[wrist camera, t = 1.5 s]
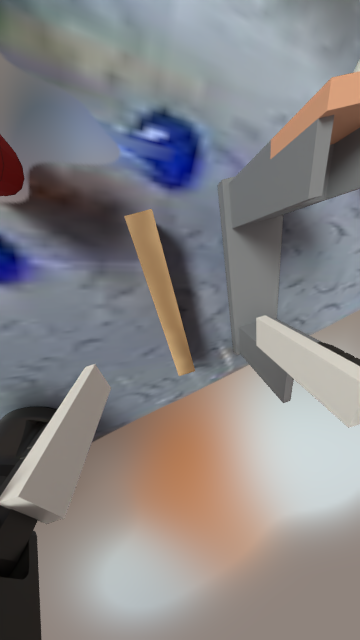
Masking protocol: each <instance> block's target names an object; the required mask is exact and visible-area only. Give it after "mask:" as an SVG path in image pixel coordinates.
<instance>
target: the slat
mask: <svg viewBox="0 0 360 640" xmlns="http://www.w3.org/2000/svg"><path fill="white" fill-rule="evenodd" d="M124 217H125V219H126V222H127V225H128V228H129V231H130V234H131V237H132V240H133V243H134V246H135V249H136V252H137V255H138V257H139V260H140V263H141V266H142V269H143V272H144V275H145V278H146V281H147V284H148V287H149V290H150V293H151V295H152V298H153V301H154V304H155V307H156V310H157V313H158V316H159V319H160V322H161V325H162V328H163V331H164V333H165V336H166V339H167V342H168V345H169V348H170V351H171V354H172V357H173V360H174V363H175V366H176V369H177V371H178V374H179V376H181V375H184V374H187V373H190V372H194V371H195V369H194V365H193V361H192V357H191V354H190V350H189V346H188V343H187V339H186V335H185V331H184V328H183V324H182V320H181V316H180V313H179V309H178V305H177V301H176V298H175V294H174V290H173V286H172V283H171V279H170V275H169V272H168V268H167V264H166V260H165V257H164V253H163V249H162V245H161V242H160V238H159V234H158V230H157V227H156V223H155V219H154V215H153V212H152V209H150V210H146V211H142V212H138V213H135V214H131V215H127V216H124Z"/></svg>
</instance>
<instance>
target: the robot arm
mask: <svg viewBox="0 0 360 640" xmlns="http://www.w3.org/2000/svg"><path fill="white" fill-rule="evenodd" d="M256 345H257V346H258V347H259V348H260V349H261V350H262V351H263V352H264V353H265V354H267V355H268V356H269V357H270V358H271V359H272V360H273V361H274V362H276V363H277V364H278V365H279V366H280V367H281V368H282V369H283V370H284V371H286V372H287V373H288V374H289V375H290V376H291V377H292V378H293V379H295V380H296V381H297V382H298V383H299V384H300V385H301V386H302V387H304V388H305V389H306V390H307V391H308V392H309V393H310V394H311V395H312V396H314V397H315V398H316V399H317V400H318V401H319V402H320V403H321V404H323V405H324V406H325V407H326V408H327V409H328V410H329V411H330V412H332V413H333V414H334V415H335V416H336V417H337V418H338V419H339V420H340V421H342V422H343V423H344V424H345V425H346V426H347V427H348V428H349V427H352V426H355V425H358V424H360V359H358V358H355V357H354V356H352V355H350V354H348V353H345V352H344V351H342V350H340V349H338V348H336V347H334V346H332V345H329V344H326V343H322V342H317V343H316V342H314V341H312V340H310V339H308V338H307V337H305V336H303V335H301V334H299V333H297V332H295V331H294V330H292V329H290V328H288V327H286V326H284V325H282V324H281V323H279V322H277V321H275V320H273V319H271V318H269V317H268V316H266V315H264V316H261V317H258V318H256ZM110 390H111V387H110V386H109V384H108V383H107V381H106V380H105V378H104V377H103V375H102V374H101V372H100V371H99V369H98V368H97V366H96V365H95V364H94V365H91V366H87V367H85V368H84V370H83V371H82V373H81V375H80V376H79V378H78V379H77V381H76V382H75V384H74V385H73V387H72V388H71V390H70V391H69V393H68V394H67V396H66V397H65V399H64V400H63V402H62V403H61V405H60V406H59V408H58V409H57V410H55V409H51V408H45V407H27V408H21V409H17V410H14V411H12V412H10V413H8V414H7V415H5V416H4V417H3V418H2V419H1V420H0V640H41V621H40V598H39V574H38V551H37V535H36V532H35V531H33V529H34V527H35V525H36V523H37V520H38V521H41V522H43V523H45V524H49V523H52V522H55V521H58V520H61V519H64V518H65V516H66V513H67V510H68V507H69V504H70V501H71V499H72V496H73V493H74V491H75V488H76V485H77V482H78V479H79V477H80V474H81V471H82V468H83V465H84V463H85V460H86V457H87V454H88V451H89V449H90V446H91V443H92V440H93V437H94V435H95V432H96V429H97V426H98V423H99V421H100V418H101V415H102V412H103V409H104V406H105V404H106V401H107V398H108V395H109V392H110Z"/></svg>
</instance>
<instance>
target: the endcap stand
mask: <svg viewBox="0 0 360 640" xmlns="http://www.w3.org/2000/svg"><path fill="white" fill-rule="evenodd" d="M357 189H360V71H359V72H354V73H350V74H346V75H341V76H337V77H332V78H331V79H330V80H329V81H328V82H327V83H326V84H325V85H324V86H323V87H322V88H321V89H320V90H319V91H318V92H317V93H316V94H315V95H314V96H313V97H312V98H311V99H310V100H309V101H308V102H307V103H306V105H305V106H304V107H303V108H302V109H301V110H300V111H299V112H298V113H297V114H296V115H295V116H294V117H293V118H292V119H291V120H290V121H289V122H288V123H287V124H286V125H285V126H284V127H283V128H282V129H281V130H280V131H279V132H278V133H277V134H276V135H275V136H274V137H273V138H272V139H271V140H270V142H269V143H268V144H267V145H266V146H265V147H264V148H263V149H262V150H261V151H260V152H259V153H258V154H257V155H256V156H255V157H254V158H253V159H252V160H251V161H250V162H249V163H248V164H247V165H246V166H245V167H244V168H243V169H242V170H241V171H240V172H239V173H238V174H237V175H236V176H235V177H232V178H228V179H224V180H222V181H221V182H220V183H219V184H218V195H219V206H220V216H221V227H222V237H223V248H224V259H225V269H226V280H227V290H228V301H229V311H230V322H231V332H232V343H233V352H234V353H235V354H236V355H240V354H241V355H242V356H243V358H244V359H245V360H246V361H247V362H248V363H249V364H250V366H251V367H252V368H253V369H254V370H255V371H256V372H257V374H258V375H259V376H260V377H261V378H262V379H263V380H264V382H265V383H266V384H267V385H268V386H269V387H270V388H271V390H272V391H273V392H274V393H275V394H276V395H277V396H278V398H279V399H280V400H281V401H282V402H283V403H285V402H288V401H290V399H291V392H292V386H293V380H294V379H293V378H292V377H291V376H290V375H289V374H288V373H287V372H286V371H284V370H283V369H282V368H281V367H280V366H279V365H278V364H277V363H276V362H274V361H273V360H272V359H271V358H270V357H269V356H268V355H267V354H265V353H264V352H263V351H262V350H261V349H260V348H259V347H258V346H257V345H256V318H258V317H261V316H264V315H266V316H268V317H269V318H271V319H273V320H275V321H277V322H279V323H281V324H282V325H284V326H286V327H288V328H290V329H292V330H294V331H295V332H297V333H299V334H301V335H303V336H305V337H307V338H308V339H310V340H312V341H314V342H316V343H317V342H321V341H319V340H317V339H315V338H313V337H311V336H309V335H307V334H305V333H303V332H301V331H299V330H297V329H295V328H293V327H291V326H289V325H287V324H285V323H283V322H281V321H279V320H277V304H278V288H279V273H280V257H281V242H282V226H283V214H286V213H289V212H292V211H295V210H298V209H301V208H304V207H307V206H310V205H313V204H316V203H319V202H321V201H324V200H327V199H330V198H333V197H336V196H339V195H342V194H345V193H348V192H351V191H354V190H357Z"/></svg>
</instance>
